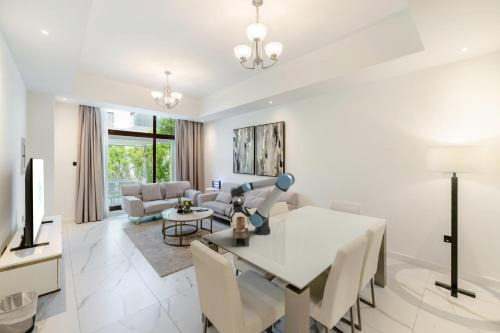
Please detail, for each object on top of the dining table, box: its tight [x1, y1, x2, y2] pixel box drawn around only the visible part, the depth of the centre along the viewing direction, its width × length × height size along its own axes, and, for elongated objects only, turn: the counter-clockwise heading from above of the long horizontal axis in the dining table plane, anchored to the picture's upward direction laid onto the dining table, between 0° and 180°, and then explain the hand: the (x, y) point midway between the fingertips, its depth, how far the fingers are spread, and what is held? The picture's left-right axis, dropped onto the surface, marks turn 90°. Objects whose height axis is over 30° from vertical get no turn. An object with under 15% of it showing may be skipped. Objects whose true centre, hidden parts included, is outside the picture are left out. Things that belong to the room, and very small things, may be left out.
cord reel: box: [235, 216, 246, 233], centre depth 181 cm, size 7×7×12 cm
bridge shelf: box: [232, 227, 250, 247], centre depth 182 cm, size 13×20×8 cm, turn 3°
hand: (241, 225), depth 179 cm, fingers open, 13 cm apart
